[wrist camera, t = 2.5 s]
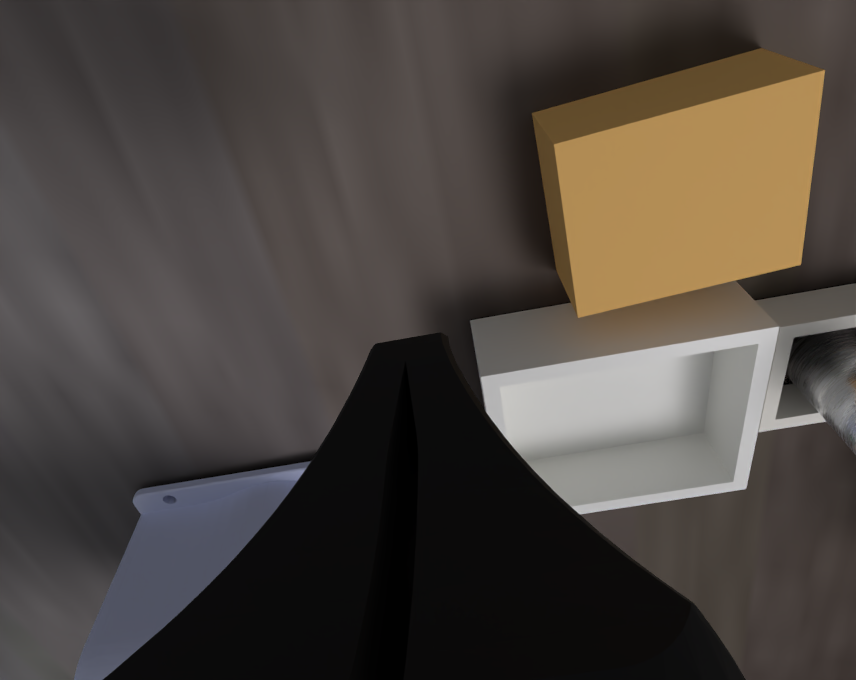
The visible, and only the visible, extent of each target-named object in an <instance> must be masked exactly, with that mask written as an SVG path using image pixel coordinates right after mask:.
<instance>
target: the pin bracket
mask: <svg viewBox="0 0 856 680" xmlns="http://www.w3.org/2000/svg"><path fill="white" fill-rule="evenodd" d="M755 301H756V303H757V304H758V305H759V306H760V307H761V308H762V309H763V310H764V311H765V312H766V313H767V314H768V315H769V316H770V317H771V318H772V319H773V320H774V321H775V322H776V323H777V324H778V325H779V326H780V327H779V332H778V336H777V341H776V346H775V351H774V356H773V361H772V366H771V370H770V375H769V380H768V385H767V390H766V395H765V400H764V404H763V409H762V414H761V419H760V424H759V429H758V432H763V431H769V430H775V429H782V428H788V427H794V426H801V425H807V424H813V423H820V422H826V420H825V419H824V418H823V417H822V416H821V415H820V414H819V412H818V411H817V410H816V409H815V408H814V407H813V405H812V404H811V403H810V402H809V401H808V400H807V399H806V397H805V396H804V395H803V394H802V393H801V392H800V391H799V389H798V388H797V387H796V386H795V385H794V384H788V385H783V383H784V379H785V374H786V370H787V365H788V361H789V356H790V352H791V348H792V343H793V339H794V337H800V336H806V335H812V334H818V333H824V332H830V331H836V330H842V329H848V328H854V327H856V283H854V284H848V285H842V286H837V287H831V288H825V289H819V290H813V291H808V292H802V293H796V294H790V295H784V296H779V297H773V298H767V299H761V300H755Z"/></svg>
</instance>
